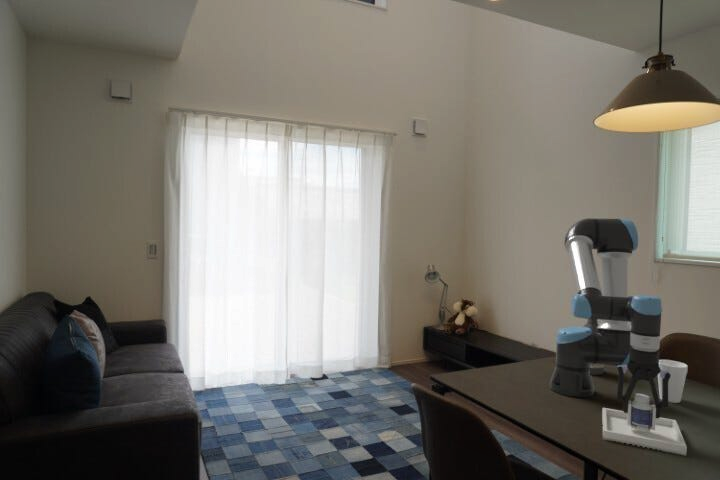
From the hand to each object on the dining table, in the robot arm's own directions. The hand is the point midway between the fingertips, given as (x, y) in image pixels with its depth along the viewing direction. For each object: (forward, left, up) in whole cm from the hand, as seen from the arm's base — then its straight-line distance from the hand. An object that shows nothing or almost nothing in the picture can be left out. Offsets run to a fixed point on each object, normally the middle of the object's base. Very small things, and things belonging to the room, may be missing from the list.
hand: (640, 425), depth 143 cm
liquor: (-14, +61, -3) cm, 63 cm away
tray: (0, 0, -2) cm, 2 cm away
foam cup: (+12, +39, -3) cm, 41 cm away
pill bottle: (0, 0, -1) cm, 1 cm away
